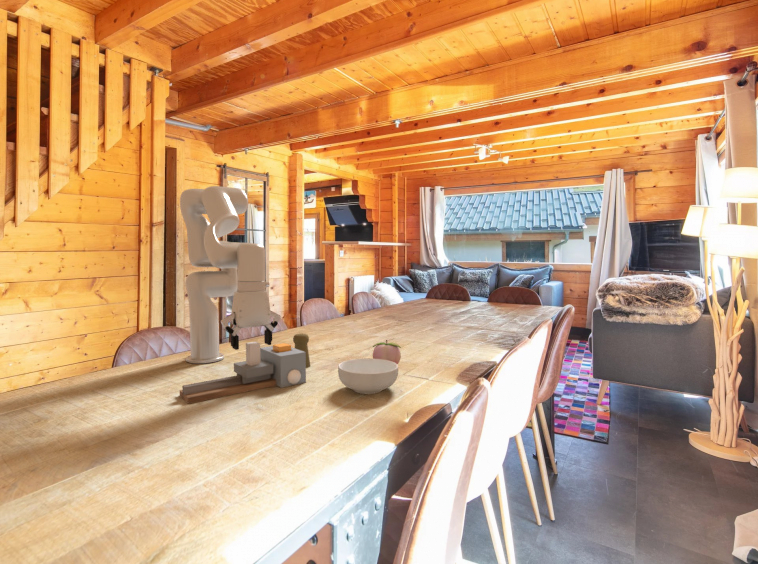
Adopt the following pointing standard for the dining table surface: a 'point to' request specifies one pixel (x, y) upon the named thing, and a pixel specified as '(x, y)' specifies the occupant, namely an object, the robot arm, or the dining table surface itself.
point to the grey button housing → (286, 365)
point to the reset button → (281, 347)
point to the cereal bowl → (367, 374)
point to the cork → (302, 345)
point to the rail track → (221, 388)
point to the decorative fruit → (387, 352)
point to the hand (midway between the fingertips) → (252, 346)
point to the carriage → (253, 365)
